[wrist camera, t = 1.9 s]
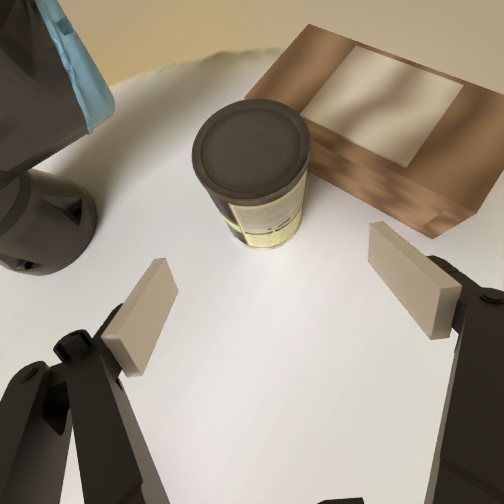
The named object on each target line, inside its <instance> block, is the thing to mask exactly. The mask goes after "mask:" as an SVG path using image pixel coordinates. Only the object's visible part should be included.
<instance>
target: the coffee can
mask: <svg viewBox="0 0 504 504" xmlns="http://www.w3.org/2000/svg"><path fill="white" fill-rule="evenodd" d="M311 152H312V139H311V134H310V131H309V129H308V126H307V124H306V123H305V121H304V120H303V118H302V117H301V116H300V115H299V114H298V113H297V112H296V111H295V110H293V109H292V108H290V107H289V106H287V105H285V104H283V103H281V102H277V101H274V100H268V99H247V100H242V101H238V102H235V103H233V104H230V105H228V106H226V107H224V108H222V109H220V110H219V111H217V112H216V113H214V114H213V115H212V116H211V117H210V118H209V119H208V120H207V121H206V122H205V123H204V124H203V126H202V127H201V128H200V130H199V132H198V134H197V135H196V138H195V141H194V144H193V148H192V164H193V168H194V171H195V173H196V176H197V177H198V179H199V181H200V182H201V184H202V185H203V186H204V188H205V189H206V190H207V191H208V193H209V195H210V196H211V198H212V200H213V201H214V203H215V205H216V206H217V208H218V210H219V211H220V213H221V215H222V216H223V218H224V220H225V221H226V223H227V225H228V226H229V228H230V230H231V232H232V234H233V236H234V237H235V238H236V239H237V240H238V241H239V242H240V243H242V244H243V245H245V246H247V247H249V248H252V249H256V250H270V249H274V248H277V247H280V246H282V245H283V244H285V243H286V242H288V241H289V240H290V239H291V238H292V237H293V236H294V235H295V233H296V232H297V230H298V228H299V226H300V223H301V218H302V205H303V198H304V190H305V183H306V175H307V168H308V165H309V162H310V157H311Z"/></svg>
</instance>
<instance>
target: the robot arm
mask: <svg viewBox="0 0 504 504" xmlns="http://www.w3.org/2000/svg"><path fill="white" fill-rule="evenodd" d="M114 109H115V101H114V98H113V95H112V93H111V91H110V89H109V87H108V86H107V84H106V82H105V80H104V78H103V77H102V75H101V73H100V71H99V70H98V68H97V67H96V64H95V63H94V61H93V59H92V58H91V56H90V54H89V53H88V51H87V49H86V48H85V46H84V45H83V43H82V41H81V39H80V38H79V36H78V34H77V33H76V31H75V30H74V29H73V27H72V24H71V23H70V21H69V20H68V18H67V16H66V15H65V13H64V11H63V9H62V8H61V6H60V4H59V3H58V1H57V0H0V265H2V266H3V267H5V268H7V269H9V270H12V271H15V272H19V273H24V274H29V275H36V276H40V275H47V274H51V273H54V272H57V271H59V270H61V269H63V268H65V267H66V266H68V265H69V264H70V263H72V262H73V261H74V260H75V259H76V258H77V257H78V256H79V255H80V254H81V253H82V252H83V250H84V249H85V248H86V246H87V245H88V243H89V241H90V239H91V237H92V235H93V232H94V229H95V225H96V207H95V204H94V201H93V199H92V197H91V196H90V195H89V193H88V192H87V191H86V190H84V189H83V188H81V187H80V186H78V185H77V184H75V183H74V182H72V181H70V180H68V179H66V178H63V177H60V176H56V175H53V174H49V173H46V172H42V171H39V170H36V169H32V167H34V166H36V165H37V164H39V163H41V162H42V161H44V160H45V159H47V158H49V157H50V156H52V155H54V154H55V153H57V152H59V151H60V150H62V149H63V148H65V147H67V146H68V145H70V144H72V143H73V142H75V141H76V140H78V139H80V138H81V137H83V136H85V135H86V134H89V135H90V134H91V133H92V132H93V129H94V128H96V127H97V126H99V125H100V124H101V123H103V122H104V121H106V120H107V119H109V118H110V117H111V116H112V115H113V113H114ZM368 262H369V263H370V265H371V266H372V267H373V268H374V270H375V271H376V272H377V273H378V275H379V276H380V277H381V278H382V280H383V281H384V282H385V283H386V285H387V286H388V287H389V289H390V290H391V291H392V292H393V294H394V295H395V296H396V297H397V299H398V300H399V301H400V302H401V304H402V305H403V306H404V307H405V309H406V310H407V311H408V312H409V314H410V315H411V316H412V317H413V319H414V320H415V321H416V322H417V324H418V325H419V326H420V327H421V329H422V330H423V331H424V332H425V334H426V335H427V336H428V337H429V339H430V340H434V339H443V338H449V337H450V333H451V329H452V328H453V329H454V330H455V331H456V332H457V333H458V334H459V336H458V340H457V343H456V347H455V351H454V353H455V354H454V359H453V364H452V369H451V374H450V379H449V384H448V389H447V394H446V399H445V404H444V409H443V414H442V418H441V423H440V428H439V433H438V438H437V443H436V448H435V453H434V458H433V463H432V468H431V473H430V478H429V483H428V488H427V493H426V497H425V502H424V504H504V292H503V291H500V290H497V289H493V288H482V287H481V286H479V285H478V284H477V283H475V282H474V281H473V280H471V279H470V278H469V277H467V276H466V275H464V274H463V273H462V272H459V270H458V269H456V268H455V267H453V266H452V265H451V264H450V263H448V262H447V261H446V260H444V259H442V258H439V257H437V256H434V255H432V256H425V255H424V254H422V253H421V252H420V251H419V250H417V249H416V248H415V247H414V246H412V245H411V244H410V243H409V242H407V241H406V240H405V239H404V238H402V237H401V236H400V235H399V234H398V233H396V232H395V231H394V230H393V229H391V228H390V227H389V226H388V225H386V224H385V223H384V222H383V221H382V222H376V223H370V225H369V254H368ZM177 293H178V288H177V286H176V283H175V281H174V279H173V276H172V274H171V271H170V269H169V266H168V264H167V261H166V259H165V258H160V259H154V260H153V262H152V263H151V265H150V266H149V268H148V269H147V271H146V272H145V273H144V275H143V276H142V278H141V279H140V281H139V282H138V283H137V285H136V286H135V288H134V289H133V291H132V292H131V294H130V295H129V296H128V298H127V299H126V301H125V302H124V303H122V304H120V305H118V306H117V307H116V308H115V309H114V310H113V311H112V312H111V313H110V315H109V316H108V317H107V318H108V319H106V320H105V322H104V323H103V325H102V326H101V327H100V328H99V330H98V331H97V333H96V334H95V335H94V337H93V338H91V336H90V335H89V333H88V332H87V331H86V330H83V329H81V330H76V331H74V332H71V333H69V334H67V335H66V336H64V337H63V338H62V339H60V340H59V341H58V342H57V343H56V345H55V346H54V349H53V351H54V352H55V354H56V355H57V356H58V357H59V359H60V360H61V361H62V363H59V364H57V365H54V366H51V367H49V366H48V365H47V364H46V363H45V362H44V361H37V362H34V363H31V364H29V365H28V366H25V367H24V368H23V369H21V370H20V371H18V372H17V373H16V374H15V375H14V376H13V377H12V379H11V380H10V382H9V384H8V386H7V388H6V390H5V392H4V395H3V397H2V399H1V401H0V504H59V503H60V497H61V491H62V485H63V480H64V474H65V468H66V462H67V456H68V450H69V444H70V438H71V432H72V426H73V430H74V437H75V443H76V450H77V457H78V463H79V470H80V477H81V483H82V490H83V497H84V504H170V502H169V500H168V497H167V495H166V492H165V490H164V487H163V485H162V482H161V480H160V477H159V475H158V472H157V470H156V467H155V465H154V462H153V460H152V457H151V455H150V452H149V450H148V447H147V445H146V442H145V440H144V437H143V435H142V432H141V430H140V427H139V425H138V422H137V420H136V417H135V415H134V412H133V410H132V408H131V405H130V403H129V400H128V398H127V395H126V393H125V390H124V388H123V385H122V383H121V381H120V379H119V378H118V376H119V374H120V372H121V370H123V372H124V373H125V375H126V377H127V378H128V377H136V376H142V375H143V373H144V371H145V368H146V366H147V364H148V361H149V359H150V357H151V354H152V352H153V349H154V347H155V345H156V342H157V340H158V338H159V335H160V333H161V331H162V328H163V326H164V324H165V321H166V319H167V317H168V314H169V312H170V310H171V307H172V305H173V303H174V300H175V298H176V296H177ZM318 504H364V501H363V498H362V497H361V498H347V499H333V500H324V501H322V502H320V503H318Z"/></svg>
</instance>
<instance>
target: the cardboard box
mask: <svg viewBox="0 0 504 504" xmlns="http://www.w3.org/2000/svg"><path fill="white" fill-rule="evenodd" d="M244 99H245V100H247V99H268V100H274V101H277V102H281V103H283V104H285V105H287V106H289V107H290V108H292V109H293V110H295V111H296V112H297V113H298V114H299V115H300V116H301V117H302V118H303V120H304V121H305V123H306V124H307V126H308V129H309V131H310V134H311V139H312V152H311V157H310V162H309V165H308V168H307V170H308V171H310V172H311V173H313V174H315V175H317V176H319V177H320V178H322V179H324V180H326V181H328V182H329V183H331V184H333V185H335V186H337V187H339V188H340V189H342V190H344V191H346V192H348V193H349V194H351V195H353V196H355V197H357V198H358V199H360V200H362V201H364V202H366V203H368V204H369V205H371V206H373V207H375V208H377V209H378V210H380V211H382V212H384V213H386V214H387V215H389V216H391V217H393V218H395V219H397V220H398V221H400V222H402V223H404V224H406V225H407V226H409V227H411V228H413V229H415V230H417V231H418V232H420V233H422V234H424V235H426V236H427V237H429V238H431V239H434V238H436V237H437V236H439V235H441V234H442V233H444V232H446V231H447V230H449V229H451V228H452V227H454V226H456V225H457V224H459V223H461V222H462V221H464V220H466V219H468V218H469V217H471V216H473V215H474V214H476V213H477V211H478V210H479V208H480V207H481V205H482V203H483V202H484V200H485V199H486V197H487V195H488V194H489V192H490V190H491V189H492V187H493V186H494V184H495V182H496V181H497V179H498V178H499V176H500V174H501V173H502V171H503V170H504V95H502V94H500V93H497V92H494V91H492V90H489V89H486V88H483V87H481V86H478V85H475V84H472V83H470V82H466V81H464V80H461V79H458V78H456V77H453V76H450V75H448V74H445V73H442V72H439V71H437V70H434V69H431V68H428V67H426V66H423V65H420V64H417V63H415V62H412V61H409V60H406V59H403V58H401V57H398V56H395V55H393V54H390V53H387V52H384V51H382V50H379V49H376V48H373V47H371V46H368V45H365V44H362V43H360V42H357V41H354V40H351V39H349V38H346V37H343V36H341V35H338V34H335V33H332V32H329V31H327V30H324V29H321V28H318V27H316V26H313V25H310V24H308V25H307V26H306V28H305V29H304V30H303V31H302V32H301V33H300V34H299V36H298V37H297V38H296V39H295V40H294V41H293V43H292V44H291V45H290V46H289V47H288V48H287V49H286V50H285V52H284V53H283V54H282V55H281V56H280V57H279V58H278V60H277V61H276V62H275V63H274V64H273V65H272V66H271V68H270V69H269V70H268V71H267V72H266V73H265V74H264V76H263V77H262V78H261V79H260V80H259V81H258V82H257V84H256V85H255V86H254V87H253V88H252V89H251V90H250V92H249V93H248V94H247V95H246V96H245V97H244Z"/></svg>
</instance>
